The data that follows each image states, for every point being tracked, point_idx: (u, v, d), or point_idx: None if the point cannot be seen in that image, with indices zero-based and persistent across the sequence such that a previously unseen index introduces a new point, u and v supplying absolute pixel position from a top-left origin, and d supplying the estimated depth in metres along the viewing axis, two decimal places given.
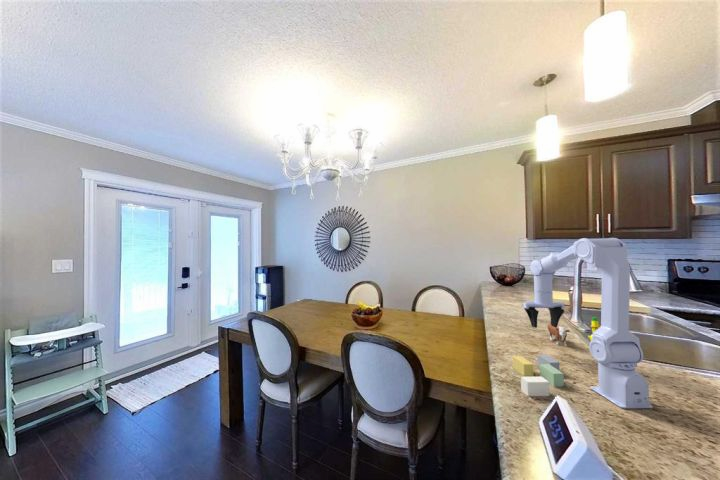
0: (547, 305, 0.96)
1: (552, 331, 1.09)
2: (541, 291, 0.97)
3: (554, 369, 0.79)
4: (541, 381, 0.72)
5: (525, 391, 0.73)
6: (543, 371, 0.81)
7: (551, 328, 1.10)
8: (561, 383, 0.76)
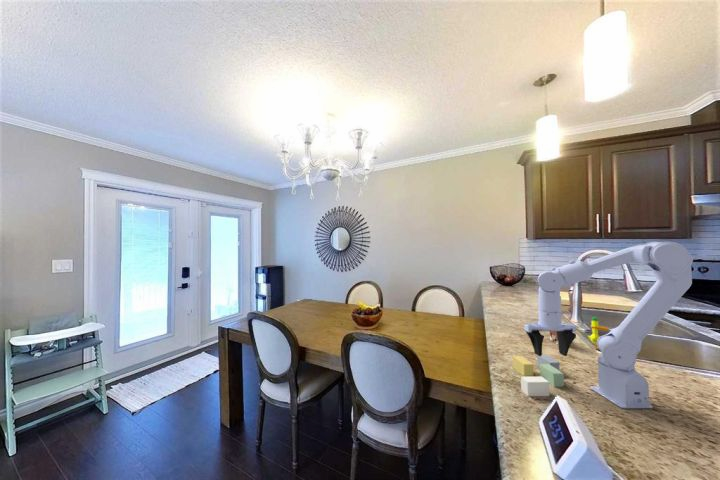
0: (555, 328, 0.77)
1: (552, 331, 1.09)
2: (557, 311, 0.77)
3: (554, 369, 0.79)
4: (541, 381, 0.72)
5: (525, 391, 0.73)
6: (543, 371, 0.81)
7: None
8: (561, 383, 0.76)
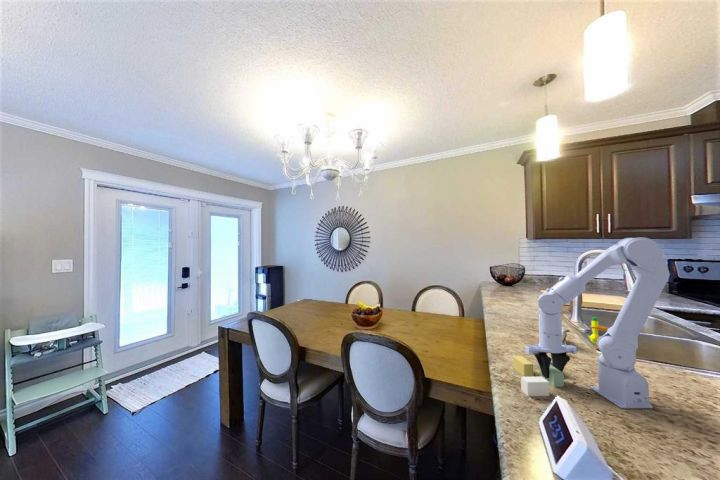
0: (555, 351, 0.76)
1: None
2: (558, 334, 0.77)
3: (554, 369, 0.79)
4: (541, 381, 0.72)
5: (525, 391, 0.73)
6: None
7: None
8: (561, 383, 0.76)
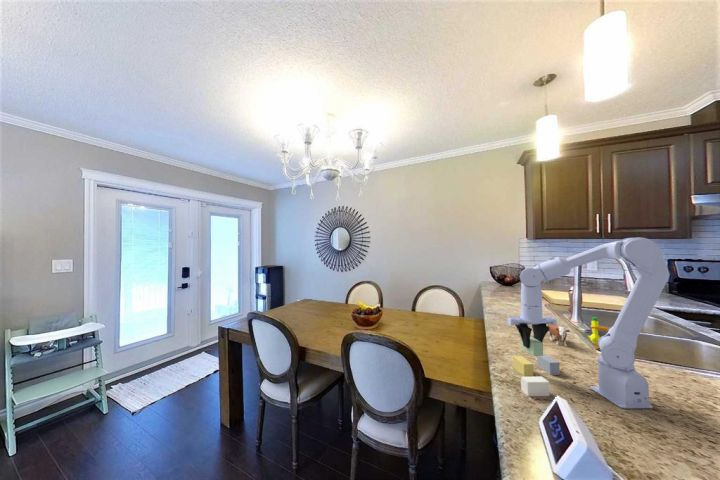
0: (535, 322, 0.80)
1: (552, 331, 1.09)
2: (538, 305, 0.80)
3: (534, 339, 0.83)
4: (541, 381, 0.72)
5: (525, 391, 0.73)
6: None
7: (551, 328, 1.10)
8: (540, 352, 0.80)
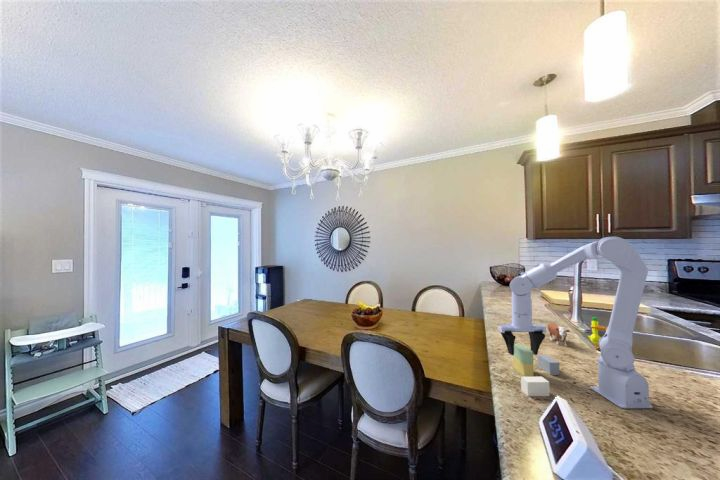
0: (525, 329, 0.83)
1: (552, 331, 1.09)
2: (527, 313, 0.83)
3: (525, 348, 0.85)
4: (541, 381, 0.72)
5: (525, 391, 0.73)
6: (515, 350, 0.87)
7: (551, 328, 1.10)
8: (531, 360, 0.82)
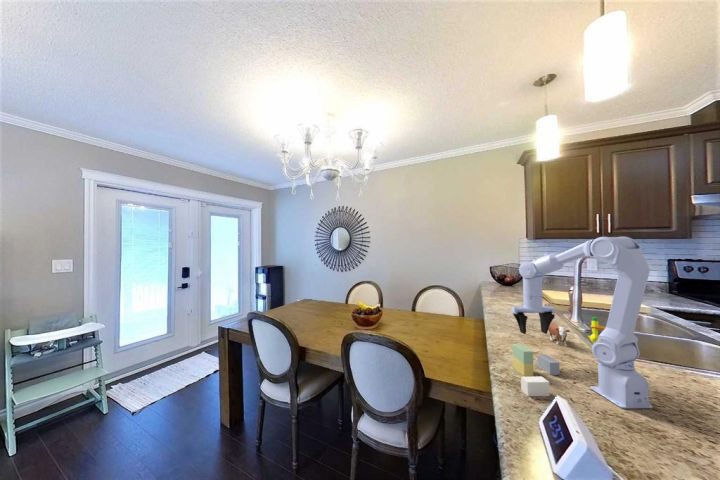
0: (536, 310, 0.90)
1: (552, 331, 1.09)
2: (533, 295, 0.91)
3: (525, 348, 0.85)
4: (541, 381, 0.72)
5: (525, 391, 0.73)
6: (515, 350, 0.87)
7: (551, 328, 1.10)
8: (530, 360, 0.82)
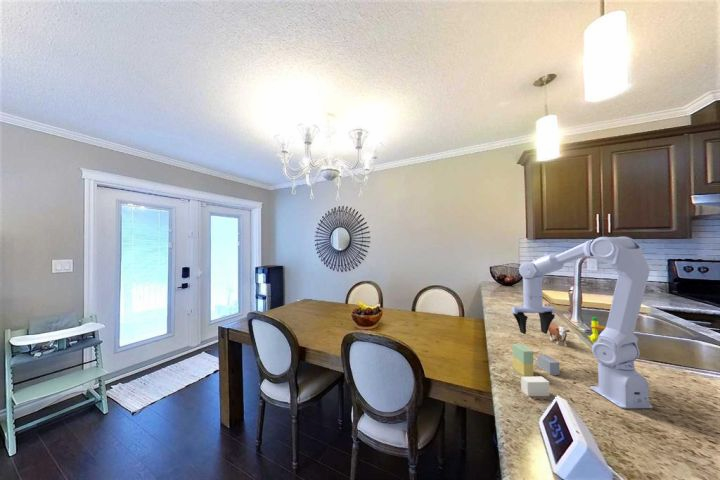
0: (536, 310, 0.90)
1: (552, 331, 1.09)
2: (533, 295, 0.91)
3: (525, 348, 0.85)
4: (541, 381, 0.72)
5: (525, 391, 0.73)
6: (515, 350, 0.87)
7: (551, 328, 1.10)
8: (530, 360, 0.82)
